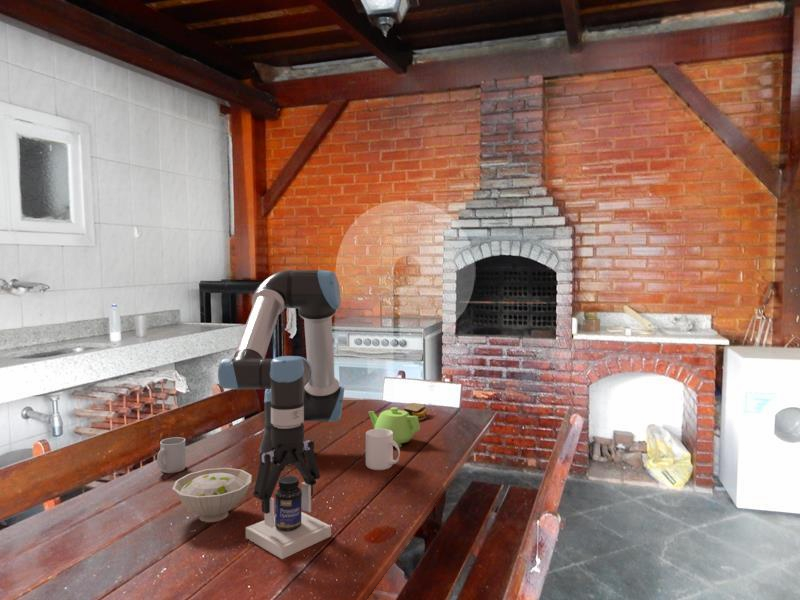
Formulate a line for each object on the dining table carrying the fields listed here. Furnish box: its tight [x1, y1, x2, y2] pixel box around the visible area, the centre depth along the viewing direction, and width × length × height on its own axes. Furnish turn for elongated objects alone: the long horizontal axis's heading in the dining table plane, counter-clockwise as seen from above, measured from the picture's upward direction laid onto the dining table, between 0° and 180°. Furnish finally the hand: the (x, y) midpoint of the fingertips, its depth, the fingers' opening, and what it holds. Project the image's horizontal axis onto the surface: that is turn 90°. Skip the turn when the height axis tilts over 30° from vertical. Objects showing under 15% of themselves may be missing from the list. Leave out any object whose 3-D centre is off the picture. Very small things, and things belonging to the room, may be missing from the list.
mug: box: [365, 428, 401, 471], centre depth 177 cm, size 9×12×11 cm
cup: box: [156, 436, 187, 474], centre depth 173 cm, size 7×10×9 cm
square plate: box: [245, 511, 332, 560], centre depth 132 cm, size 14×14×3 cm
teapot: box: [368, 406, 421, 448], centre depth 201 cm, size 20×13×13 cm
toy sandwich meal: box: [403, 402, 428, 422], centre depth 234 cm, size 12×14×5 cm
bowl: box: [171, 467, 253, 523], centre depth 142 cm, size 19×19×10 cm
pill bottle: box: [274, 475, 303, 531], centre depth 131 cm, size 6×6×11 cm
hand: (288, 517), depth 131 cm, fingers open, 10 cm apart
